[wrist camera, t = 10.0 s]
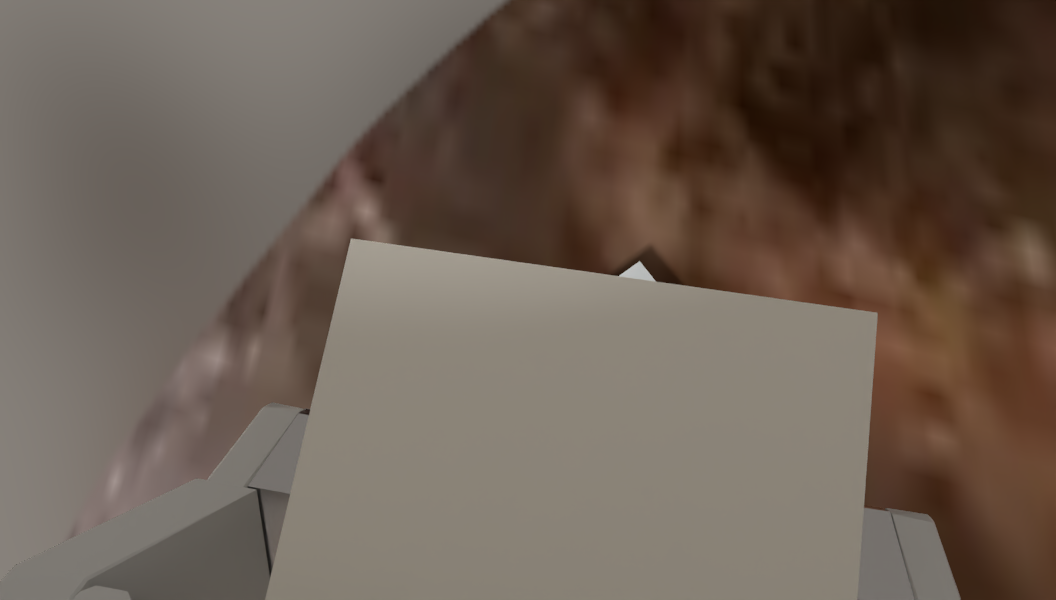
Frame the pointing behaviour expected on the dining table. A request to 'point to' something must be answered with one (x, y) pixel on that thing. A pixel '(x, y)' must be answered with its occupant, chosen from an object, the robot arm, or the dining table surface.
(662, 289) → the cream rectangular block
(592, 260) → the dining table surface
